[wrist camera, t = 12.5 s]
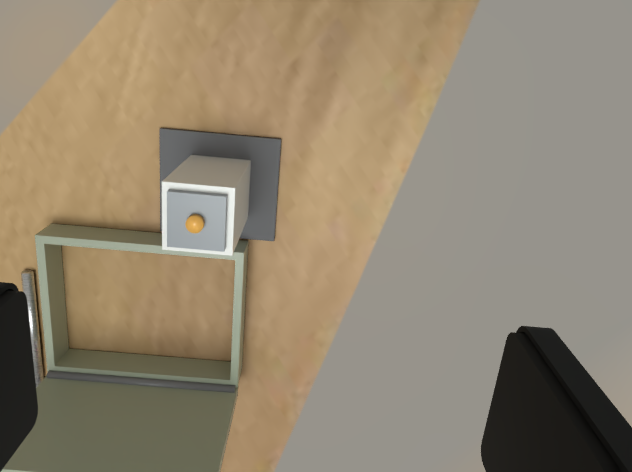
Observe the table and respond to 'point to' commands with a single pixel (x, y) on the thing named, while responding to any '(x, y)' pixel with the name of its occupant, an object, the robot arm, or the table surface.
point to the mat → (256, 149)
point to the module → (205, 205)
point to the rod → (33, 323)
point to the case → (126, 382)
